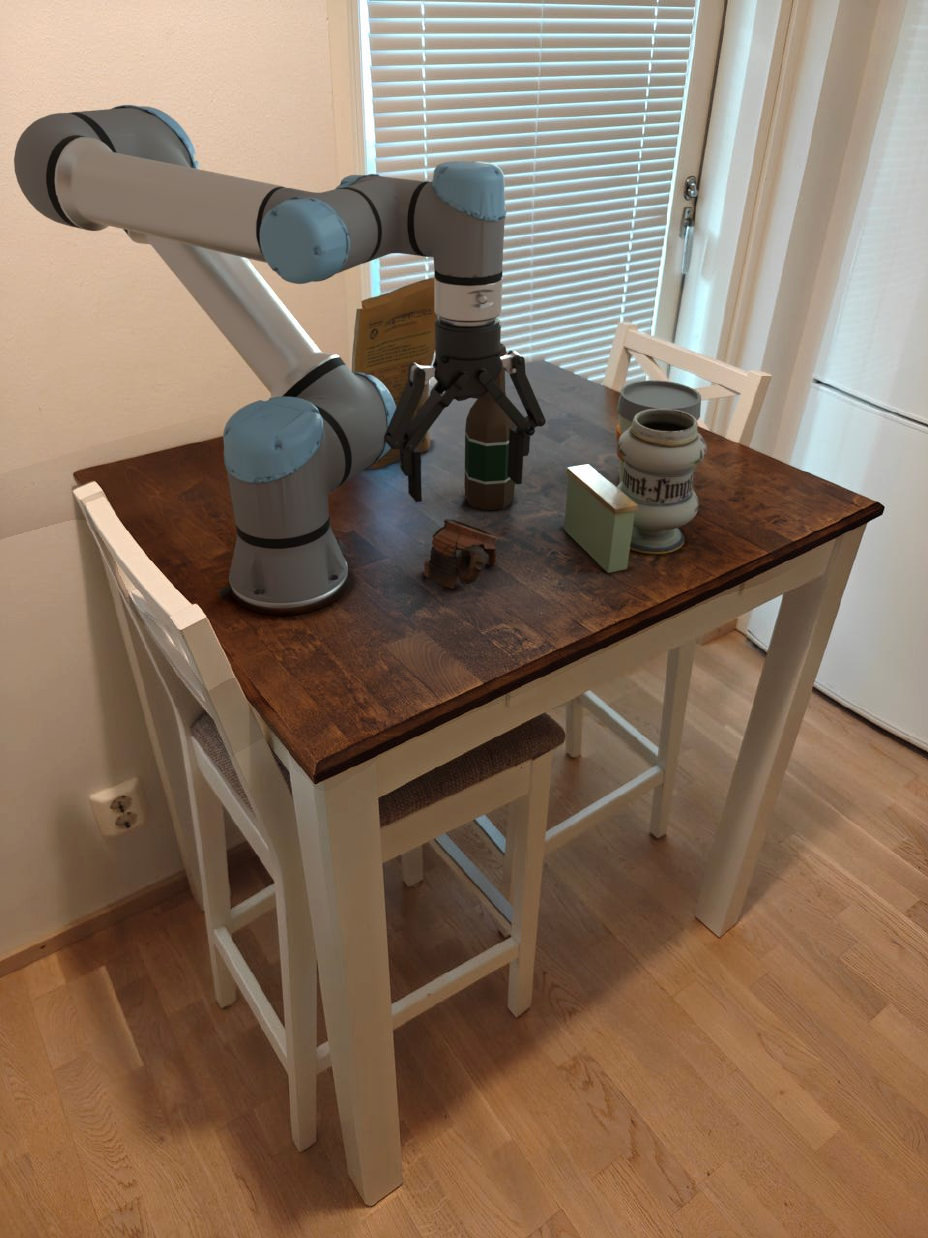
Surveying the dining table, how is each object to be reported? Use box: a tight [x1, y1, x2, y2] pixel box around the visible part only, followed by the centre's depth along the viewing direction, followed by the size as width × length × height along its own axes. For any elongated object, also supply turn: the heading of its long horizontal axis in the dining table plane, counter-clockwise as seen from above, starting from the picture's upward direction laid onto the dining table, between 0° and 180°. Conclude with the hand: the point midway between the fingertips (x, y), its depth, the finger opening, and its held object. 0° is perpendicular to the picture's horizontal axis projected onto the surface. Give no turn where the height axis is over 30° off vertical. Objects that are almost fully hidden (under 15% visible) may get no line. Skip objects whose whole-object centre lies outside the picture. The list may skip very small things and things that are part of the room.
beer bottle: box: [463, 342, 517, 511], centre depth 130 cm, size 8×8×24 cm
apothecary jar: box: [616, 409, 708, 555], centre depth 123 cm, size 12×12×18 cm
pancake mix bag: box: [351, 276, 439, 470], centre depth 142 cm, size 7×19×28 cm, turn 134°
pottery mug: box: [423, 518, 497, 590], centre depth 117 cm, size 12×10×8 cm
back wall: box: [563, 463, 638, 574], centre depth 122 cm, size 3×13×10 cm, turn 22°
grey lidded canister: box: [615, 379, 702, 484], centre depth 138 cm, size 13×13×15 cm
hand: (465, 488), depth 112 cm, fingers open, 13 cm apart
